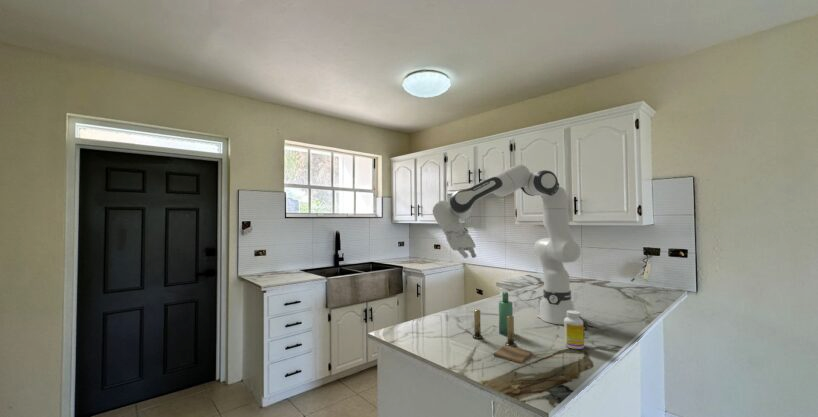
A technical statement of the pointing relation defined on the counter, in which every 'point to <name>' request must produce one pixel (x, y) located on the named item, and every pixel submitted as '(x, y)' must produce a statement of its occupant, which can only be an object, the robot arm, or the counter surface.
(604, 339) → the counter surface
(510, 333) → the post
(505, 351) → the plate
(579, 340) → the supplement bottle
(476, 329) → the post
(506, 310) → the bottle
